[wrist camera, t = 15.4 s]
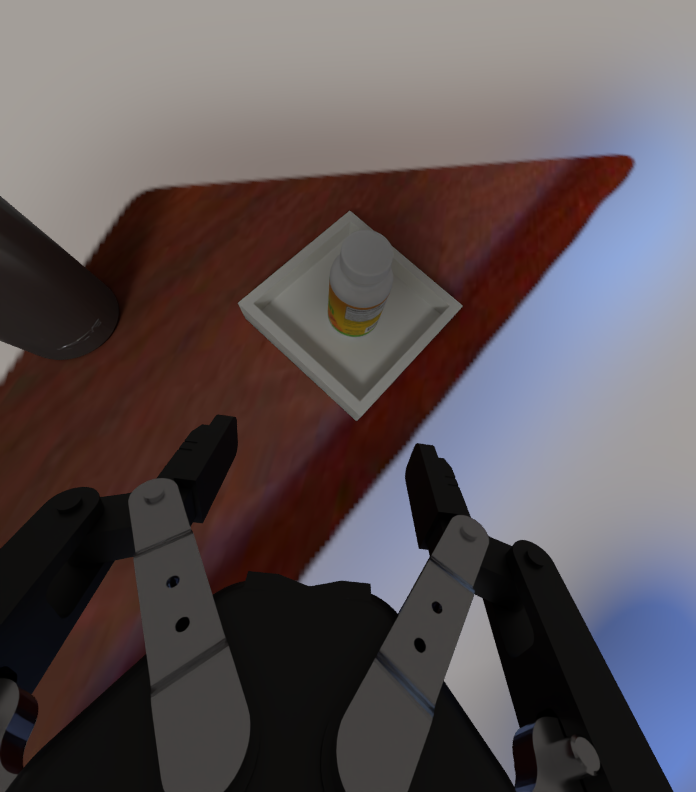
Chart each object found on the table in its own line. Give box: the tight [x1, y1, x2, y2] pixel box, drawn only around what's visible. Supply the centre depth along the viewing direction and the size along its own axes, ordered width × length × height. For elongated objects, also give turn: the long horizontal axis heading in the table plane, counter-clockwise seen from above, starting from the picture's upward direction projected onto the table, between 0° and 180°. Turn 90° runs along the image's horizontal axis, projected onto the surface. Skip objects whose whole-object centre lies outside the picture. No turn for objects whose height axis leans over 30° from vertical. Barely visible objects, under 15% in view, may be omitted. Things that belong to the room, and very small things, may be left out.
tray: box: [238, 211, 462, 421], centre depth 30 cm, size 16×16×3 cm
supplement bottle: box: [328, 230, 393, 338], centre depth 26 cm, size 5×5×10 cm
